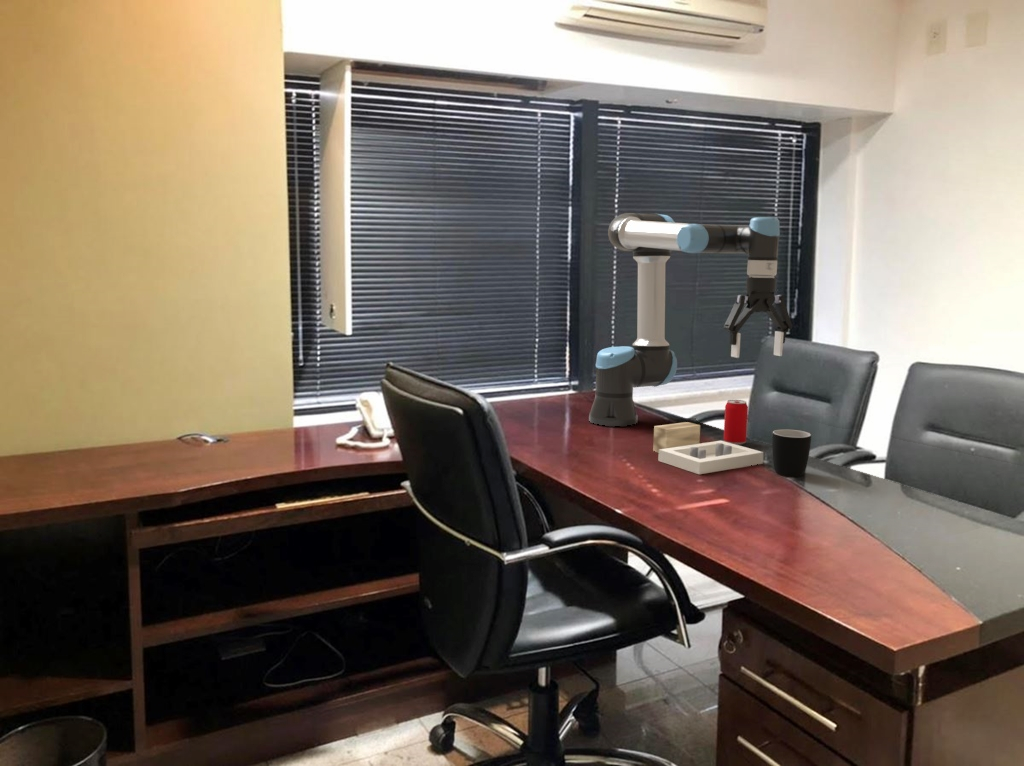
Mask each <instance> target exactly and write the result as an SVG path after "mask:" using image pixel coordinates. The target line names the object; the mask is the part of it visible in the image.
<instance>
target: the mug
mask: <svg viewBox="0 0 1024 766" xmlns="http://www.w3.org/2000/svg"><path fill="white" fill-rule="evenodd" d="M771 438H772V439H771V440H772V441H771V443H772V444H771V445H772V446H771V447H772V450H771V451H772V463H773V468H774V472H775V473H776V474H777V475H780V476H783V477H788V478H789V477H792V478H795V477H796V478H797V477H801V476H804V474H805V472H806V469H807V466H808V461H809V456H810V449H811V444H812V434H811V433H810V432H807V431H804V430H796V429H783V428H782V429H775V430H773V431H772V437H771Z"/></svg>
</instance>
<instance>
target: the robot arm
mask: <svg viewBox="0 0 1024 766" xmlns="http://www.w3.org/2000/svg"><path fill="white" fill-rule="evenodd" d="M749 221H750V222H749V225H745V224H744V225H742V224H741V225H740V224H739V225H736V224H733V225H731V224H704V223H701V224H700V223H688V222H687V223H684V222H676V221H674V219H673V218H672V217H671V216H669V215H667V214H659V213H637V212H636V213H634V212H626V213H622V214H619V215H617V216H616V217H615V218H613V220H611V222H610V224H609V226H608V228H607V229H608V231H607V235H608V240H609V241H610V243H611V244H612V245H613V246H614V247H615V248H616V249H618V250H621V251H624V252H632V258H633V260H634V261H636V263H637V316H636V317H637V318H636V319H637V321H636V322H637V323H636V324H637V330H636V331H637V332H636V333H637V338H636V340H635V341H634V342H632V346H627V345H626V346H625V345H624V346H623V345H621V346H610V347H606V348H603V349H601V350H599V351H598V352H597V355H596V359H595V360H596V361H595V391H594V392H595V395H594V396H595V397H594V399H593V400H594V401H593V403H592V406H591V409H590V411H589V415H588V422H589V421H590V422H589V423H591V424H593V423H594V424H593V425H597V424H599V425H598V426H602V425H605V426H604V427H615V426H620V427H628V426H627V425H631V426H633V425H632V424H635V423H637V424H638V420H639V419H638V413H637V409H636V406H635V402H634V396H633V394H634V388H644V387H660V386H665V385H667V384H669V383H670V382H671V381H672V380H673V379H674V377H675V375H676V373H677V369H678V360H677V357H676V354H675V351H673V350H671V349H670V343H669V342H668V341H667V340H666V339H665V338H666V337H665V333H666V331H665V330H666V328H665V327H666V325H665V324H666V322H665V320H666V263H667V261H668V260H669V259H670V258H671V252H673V251H680V252H684V253H688V254H732V255H734V254H746V255H747V267H746V268H747V269H746V274H747V276H748V277H747V278H746V285H745V286H746V288H745V291H746V294H745V295H743V294H736V295H735V301H734V304H733V306H732V309H731V311H730V312H729V314H728V317H727V318H726V321H725V322H724V325H723V330H724V331H727V332H729V345H730V347H731V348H730V350H731V351H730V357H731V358H736V359H739V358H740V351H741V333H740V332H739V331H740V330H741V329H742V328H743V326H744V325H745V323H746V322H747V321H748V320H749V318H750V317H751V316H752V315H753V314H755V313H761V312H762V313H766V314H767V316H768V317H769V318H770V320H771V321H772V323H773V324H774V326H775V328H776V329H777V330H774V342H773V343H774V344H773V356H777V357H782V356H783V348H784V347H783V346H784V344H785V342H786V334H787V333H788V332H789V330H792V329H793V323H792V320H791V318H790V315H789V311H788V308H787V305H786V303H785V302H786V301H785V297H786V296H785V295H783V294H775V292H776V288H777V287H776V286H777V279H776V277H775V276H777V273H778V271H777V270H778V256H779V255H778V253H779V242H780V236H781V234H780V232H781V231H780V220H779V219H778V218H777V217H773V216H772V217H767V216H766V217H765V216H762V217H761V216H758V217H757V216H756V217H751V219H750V220H749ZM774 303H775V306H776V307H775V306H774ZM745 304H746V305H745ZM744 305H745V306H744ZM635 425H636V424H635Z"/></svg>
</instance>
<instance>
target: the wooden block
mask: <svg viewBox="0 0 1024 766" xmlns="http://www.w3.org/2000/svg"><path fill="white" fill-rule="evenodd" d="M653 427H654V428H653V445H652V447H653V448H652V450H653V451H652V452H654V451H655V453H658V454H659V449H666V448H673V447H680V446H687V445H693V444H700V438H701V425H700V424H696V423H693V422H688V421H687V422H686V421H683V422H678V423H669V424H662V425H661V424H660V425H654V426H653Z"/></svg>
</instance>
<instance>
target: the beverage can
mask: <svg viewBox="0 0 1024 766" xmlns="http://www.w3.org/2000/svg"><path fill="white" fill-rule="evenodd" d="M724 408H725V409H724V422H723V423H724V427H723V441H725V442H728V443H732V444H735V445H739V446H742V445H744V444H745V443H746V442H747V432H748V415H749V413H748V411H749V406H748V404H747V401H746V400H743V399H728V400H727V402H726V404H725V406H724Z"/></svg>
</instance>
